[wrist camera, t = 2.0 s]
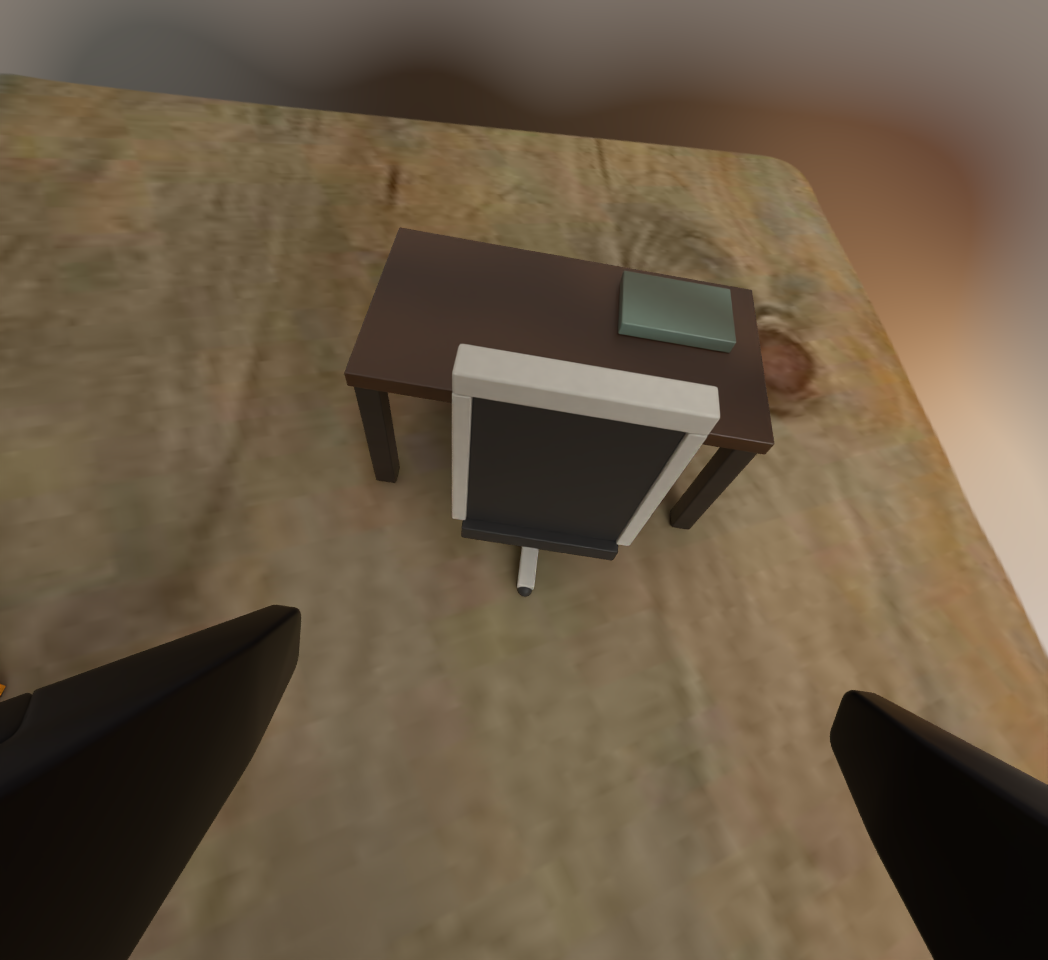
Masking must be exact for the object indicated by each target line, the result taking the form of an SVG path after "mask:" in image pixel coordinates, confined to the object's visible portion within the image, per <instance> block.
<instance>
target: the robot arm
mask: <svg viewBox="0 0 1048 960" xmlns="http://www.w3.org/2000/svg"><path fill="white" fill-rule="evenodd" d="M300 629H301V613H300V611H299V609H298V608H295V607H288V606H281V605H271V606H268V607H265V608H263V609H260V610H257V611H254V612H252V613H249V614H246V615H243V616H240V617H238V618H235V619H232V620H229V621H226V622H224V623H221V624H218V625H215V626H212V627H210V628H207V629H204V630H201V631H198V632H196V633H193V634H190V635H187V636H185V637H182V638H179V639H176V640H173V641H171V642H168V643H165V644H162V645H159V646H157V647H154V648H151V649H148V650H145V651H143V652H140V653H137V654H134V655H131V656H129V657H126V658H123V659H120V660H118V661H115V662H112V663H109V664H106V665H104V666H101V667H98V668H95V669H92V670H90V671H87V672H84V673H81V674H78V675H76V676H73V677H70V678H67V679H64V680H62V681H59V682H56V683H53V684H51V685H48V686H45V687H42V688H39V689H37V690H35V691H34V692H33V694H30V693H25V694H22V695H19V696H17V697H14V698H11V699H8V700H6V701H3V702H0V960H128V958H129V957H130V955H131V953H132V952H133V950H134V948H135V947H136V945H137V944H138V942H139V940H140V939H141V937H142V936H143V934H144V932H145V931H146V929H147V927H148V926H149V924H150V923H151V921H152V919H153V918H154V916H155V915H156V913H157V911H158V910H159V908H160V906H161V905H162V903H163V902H164V900H165V898H166V897H167V895H168V894H169V892H170V890H171V889H172V887H173V885H174V884H175V882H176V881H177V879H178V877H179V876H180V874H181V873H182V871H183V869H184V868H185V866H186V864H187V863H188V861H189V860H190V858H191V856H192V855H193V853H194V852H195V850H196V848H197V847H198V845H199V844H200V842H201V840H202V839H203V837H204V835H205V834H206V832H207V831H208V829H209V827H210V826H211V824H212V823H213V821H214V819H215V818H216V816H217V814H218V813H219V811H220V810H221V808H222V806H223V805H224V803H225V802H226V800H227V798H228V797H229V795H230V793H231V792H232V790H233V789H234V787H235V785H236V784H237V782H238V781H239V779H240V777H241V776H242V774H243V772H244V771H245V769H246V767H247V766H248V764H249V762H250V761H251V759H252V757H253V755H254V753H255V751H256V749H257V747H258V745H259V743H260V741H261V739H262V737H263V735H264V733H265V731H266V729H267V727H268V725H269V723H270V721H271V718H272V716H273V714H274V712H275V710H276V708H277V706H278V704H279V702H280V700H281V697H282V695H283V693H284V691H285V689H286V687H287V685H288V683H289V681H290V679H291V677H292V674H293V672H294V670H295V668H296V665H297V661H298V656H299V644H300ZM830 743H831V747H832V750H833V752H834V754H835V757H836V759H837V762H838V764H839V766H840V769H841V771H842V773H843V776H844V778H845V780H846V783H847V785H848V787H849V790H850V792H851V795H852V797H853V799H854V802H855V804H856V806H857V809H858V811H859V813H860V816H861V818H862V820H863V823H864V825H865V827H866V830H867V832H868V834H869V836H870V838H871V841H872V843H873V845H874V847H875V849H876V851H877V853H878V855H879V857H880V859H881V861H882V862H883V864H884V866H885V868H886V870H887V872H888V874H889V876H890V878H891V879H892V881H893V883H894V885H895V887H896V889H897V891H898V893H899V895H900V897H901V898H902V900H903V902H904V904H905V906H906V908H907V910H908V912H909V914H910V915H911V917H912V919H913V921H914V923H915V925H916V927H917V929H918V931H919V933H920V934H921V936H922V938H923V940H924V942H925V944H926V946H927V948H928V950H929V951H930V953H931V955H932V957H933V959H934V960H1048V785H1047V784H1045V783H1043V782H1041V781H1039V780H1037V779H1035V778H1033V777H1032V776H1030V775H1028V774H1026V773H1024V772H1022V771H1020V770H1018V769H1016V768H1015V767H1013V766H1011V765H1009V764H1007V763H1005V762H1003V761H1001V760H1000V759H998V758H996V757H994V756H992V755H990V754H988V753H986V752H985V751H983V750H981V749H979V748H977V747H975V746H973V745H971V744H969V743H968V742H966V741H964V740H962V739H960V738H958V737H956V736H954V735H953V734H951V733H949V732H947V731H945V730H943V729H941V728H939V727H938V726H936V725H934V724H932V723H930V722H928V721H926V720H924V719H923V718H921V717H919V716H917V715H915V714H913V713H911V712H909V711H907V710H906V709H904V708H902V707H900V706H898V705H896V704H894V703H892V702H891V701H889V700H887V699H885V698H883V697H881V696H879V695H877V694H875V693H871V692H864V691H857V690H850V691H848V692H846V693H845V694H844V696H843V698H842V700H841V703H840V706H839V708H838V711H837V714H836V717H835V720H834V722H833V725H832V728H831V731H830Z"/></svg>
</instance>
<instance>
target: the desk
mask: <svg viewBox="0 0 1048 960" xmlns="http://www.w3.org/2000/svg"><path fill="white" fill-rule="evenodd" d="M460 344H468V345H473V346H479V347H485V348H491V349H497V350H503V351H509V352H515V353H521V354H526V355H532V356H538V357H544V358H550V359H556V360H562V361H568V362H574V363H580V364H585V365H591V366H597V367H603V368H609V369H615V370H621V371H627V372H633V373H638V374H644V375H650V376H656V377H662V378H668V379H674V380H680V381H686V382H692V383H697V384H703V385H709V386H715V387H717V388H718V396H719V407H720V419H719V420H718V422H717V423H716V425H715V426H714V427H713V429H712V430H711V432H710V433H709V434H708V435H707V438H706V440H705V441H704V442H703V444H704V445H710V446H716V447H720V448H719V449H718V450H717V452H716V453H715V454H714V456H713V457H712V458H711V459H710V461H709V462H708V463H707V465H706V466H705V467H704V468H703V470H702V471H701V472H700V474H699V475H698V476H697V478H696V479H695V480H694V481H693V483H692V484H691V485H690V487H689V488H688V489H687V490H686V492H685V493H684V494H683V496H682V497H681V498H680V500H679V501H678V502H677V503H676V505H675V506H674V507H673V509H672V510H671V526H672V527H677V528H683V529H690V528H691V527H692V526H693V524H694V523H695V522H696V521H697V520H698V519H699V518H700V517H701V516H702V514H703V513H704V512H705V511H706V510H707V509H708V508H709V507H710V506H711V504H712V503H713V502H714V501H715V500H716V499H717V498H718V497H719V495H720V494H721V493H722V492H723V491H724V490H725V489H726V488H727V487H728V485H729V484H730V483H731V482H732V481H733V480H734V479H735V478H736V477H737V475H738V474H739V473H740V472H741V471H742V470H743V469H744V468H745V466H746V465H747V464H748V463H749V462H750V461H751V460H752V459H753V458H754V456H755V455H756V454H757V453H758V454H766V453H767V452H768V451H769V450H770V448H771V447H772V446H773V445H774V439H773V432H772V425H771V418H770V411H769V404H768V397H767V391H766V384H765V377H764V370H763V363H762V356H761V349H760V343H759V336H758V329H757V322H756V315H755V308H754V301H753V295H752V290H749V289H743V288H738V287H732V286H726V285H721V284H715V283H709V282H704V281H698V280H692V279H687V278H681V277H676V276H670V275H664V274H659V273H653V272H647V271H642V270H636V269H630V268H625V267H619V266H614V265H608V264H602V263H597V262H591V261H585V260H580V259H574V258H568V257H563V256H557V255H552V254H546V253H540V252H535V251H529V250H523V249H518V248H512V247H506V246H501V245H495V244H490V243H484V242H478V241H473V240H467V239H461V238H456V237H450V236H444V235H439V234H433V233H427V232H422V231H416V230H411V229H405V228H399V230H398V233H397V235H396V238H395V241H394V243H393V246H392V248H391V251H390V254H389V256H388V259H387V262H386V264H385V267H384V270H383V272H382V275H381V277H380V280H379V283H378V285H377V288H376V291H375V293H374V296H373V299H372V301H371V304H370V306H369V309H368V312H367V314H366V317H365V320H364V322H363V325H362V327H361V330H360V333H359V335H358V338H357V341H356V343H355V346H354V349H353V351H352V354H351V356H350V359H349V362H348V364H347V367H346V370H345V372H344V374H345V378H346V382H347V385H348V386H353V387H354V389H355V393H356V397H357V401H358V405H359V409H360V414H361V418H362V422H363V426H364V430H365V434H366V439H367V443H368V447H369V451H370V455H371V459H372V464H373V468H374V472H375V476H376V480H379V481H386V482H392V483H395V482H396V479H397V476H398V472H399V468H400V466H399V460H398V454H397V447H396V441H395V435H394V429H393V422H392V416H391V410H390V404H389V397H388V392H389V393H395V394H401V395H407V396H413V397H419V398H425V399H431V400H437V401H443V402H450V403H452V392H453V391H452V371H453V367H454V363H455V359H456V355H457V351H458V347H459V345H460Z"/></svg>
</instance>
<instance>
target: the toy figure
mask: <svg viewBox="0 0 1048 960" xmlns="http://www.w3.org/2000/svg"><path fill="white" fill-rule="evenodd" d="M5 687H6V686H4V685H2V684H0V696H1V694H2V692H3V690H4V688H5Z"/></svg>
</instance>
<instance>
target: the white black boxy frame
mask: <svg viewBox="0 0 1048 960" xmlns="http://www.w3.org/2000/svg"><path fill="white" fill-rule="evenodd" d="M452 391H453V392H452V518H453V519H460V520H463V523H462V531H461V536H462V537H464V538H471V539H477V540H484V541H490V542H496V543H503V544H509V545H516V546H522V551H521V558H520V566H519V574H518V582H517V588H518V593H519V594H520V595H521V596H523V597H526V596H529V595H530V594H531V592H532V590H533V589H534V585H535V576H536V567H537V558H538V549H542V550H548V551H554V552H561V553H567V554H574V555H580V556H587V557H593V558H599V559H606V560H613V559H614V557H615V556H616V554H617V553H618V544H619V545H625V546H630V544H631V543H632V542H633V540H634V539H635V537H636V536H637V535H638V533H639V532H640V530H641V529H642V528H643V526H644V525H645V523H646V522H647V521H648V519H649V518H650V516H651V515H652V514H653V512H654V511H655V509H656V508H657V507H658V505H659V504H660V502H661V501H662V500H663V498H664V497H665V495H666V494H667V493H668V491H669V490H670V488H671V487H672V486H673V484H674V483H675V481H676V480H677V479H678V477H679V476H680V475H681V473H682V472H683V470H684V469H685V468H686V466H687V465H688V463H689V462H690V461H691V459H692V458H693V456H694V455H695V454H696V452H697V451H698V449H699V448H700V447H701V445H702V444H703V442H704V441H705V440H706V438H707V435H708V434H709V433H710V432H711V430H712V429H713V427H714V426H715V425H716V423H717V422H718V420H719V419H720V407H719V396H718V388H717V387H715V386H709V385H703V384H697V383H692V382H686V381H680V380H674V379H668V378H662V377H656V376H650V375H644V374H638V373H633V372H627V371H621V370H615V369H609V368H603V367H597V366H591V365H585V364H580V363H574V362H568V361H562V360H556V359H550V358H544V357H538V356H532V355H526V354H521V353H515V352H509V351H503V350H497V349H491V348H485V347H479V346H473V345H468V344H460V345H459V347H458V351H457V355H456V359H455V363H454V367H453V371H452Z"/></svg>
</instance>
